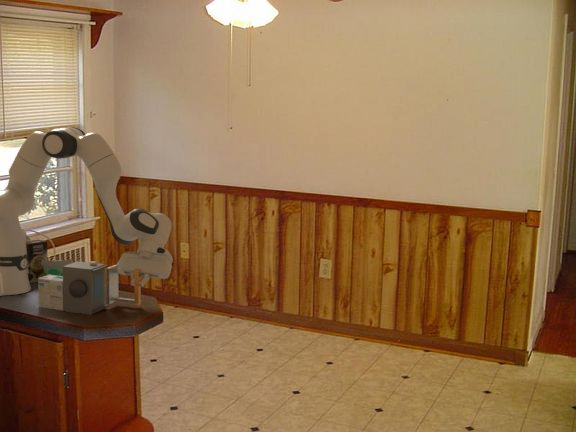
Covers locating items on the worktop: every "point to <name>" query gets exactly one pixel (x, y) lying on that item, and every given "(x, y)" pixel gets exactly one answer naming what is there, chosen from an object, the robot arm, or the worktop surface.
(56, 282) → the light bulb box
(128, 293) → the worktop surface
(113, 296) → the side door
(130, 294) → the worktop surface
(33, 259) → the coffee box
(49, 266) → the food container
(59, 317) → the worktop surface
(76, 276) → the camera body
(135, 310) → the worktop surface
